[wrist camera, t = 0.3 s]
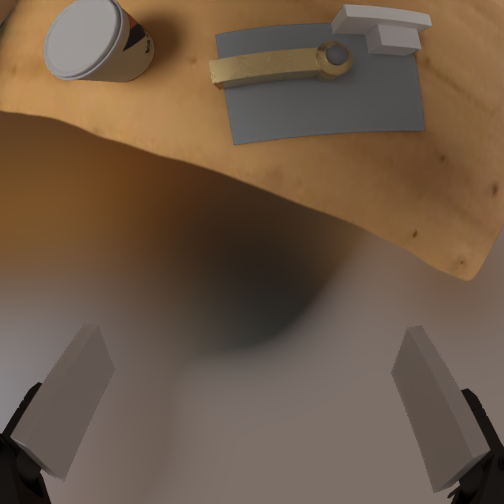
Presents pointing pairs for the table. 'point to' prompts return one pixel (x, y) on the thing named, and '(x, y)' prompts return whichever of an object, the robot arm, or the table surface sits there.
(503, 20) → the table surface
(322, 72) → the swing bar
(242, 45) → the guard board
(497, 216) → the table surface
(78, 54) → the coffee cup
